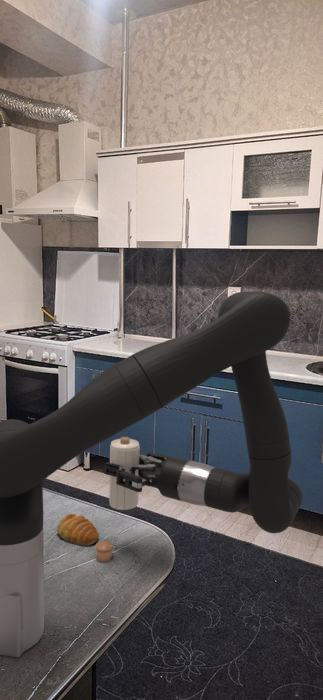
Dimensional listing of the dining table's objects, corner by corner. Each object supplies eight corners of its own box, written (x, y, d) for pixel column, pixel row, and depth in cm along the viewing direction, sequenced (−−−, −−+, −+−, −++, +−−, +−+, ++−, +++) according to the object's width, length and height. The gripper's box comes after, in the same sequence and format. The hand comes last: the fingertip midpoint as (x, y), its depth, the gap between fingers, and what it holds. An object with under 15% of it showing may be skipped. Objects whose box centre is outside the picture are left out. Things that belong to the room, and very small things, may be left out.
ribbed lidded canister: (134, 511, 97) (136, 443, 95) (106, 508, 98) (107, 441, 96) (140, 498, 102) (141, 434, 100) (113, 495, 103) (114, 432, 101)
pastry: (106, 539, 105) (106, 522, 105) (82, 552, 100) (82, 535, 99) (77, 524, 111) (77, 508, 110) (53, 536, 106) (52, 519, 105)
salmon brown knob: (110, 563, 96) (110, 550, 96) (93, 561, 97) (93, 548, 96) (114, 553, 99) (114, 541, 99) (98, 551, 100) (98, 539, 100)
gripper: (206, 450, 98) (133, 435, 106) (171, 475, 85) (92, 455, 93) (204, 486, 99) (132, 469, 107) (170, 516, 86) (92, 493, 94)
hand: (114, 462), depth 100 cm, fingers closed on ribbed lidded canister, 5 cm apart
